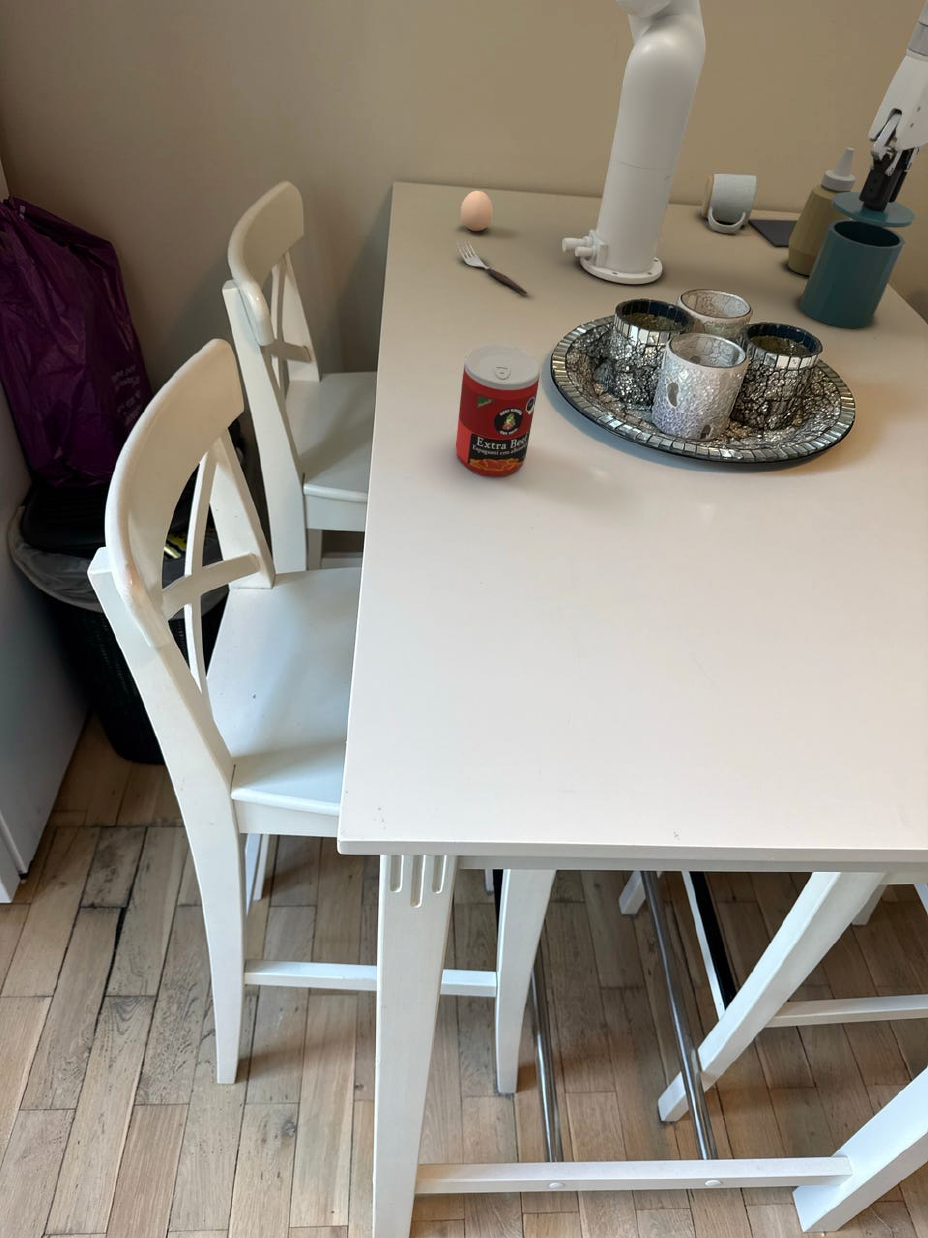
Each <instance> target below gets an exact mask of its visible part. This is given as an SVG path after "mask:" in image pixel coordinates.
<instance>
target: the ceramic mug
mask: <svg viewBox="0 0 928 1238" xmlns="http://www.w3.org/2000/svg"><path fill="white" fill-rule="evenodd" d="M757 186H758V177H757V176H756V175H751V174H735V173H734V174H732V173H714V174H711V175H709V176H708V178H707V179H706V183H705V188H704V192H703V196H702V202H701V208H700V209H701V211H700V214H701V216H702V217H703V218H705V219H707V220H708V224H709V226H710V227H711V228H712V229H713V230H714V231H716V232H718V233H721V234H732V233H735V232H737V231H738V230H740V228H741V227H742V226H747V224H748V223H749V222H748V220H750V217H751V214H752V212H753V207H754V204H755V200H756V193H757V188H758V187H757ZM717 221H718V222H717ZM719 222H723V223H729V224H731V225H727V224H721V223H719Z"/></svg>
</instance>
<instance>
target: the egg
mask: <svg viewBox="0 0 928 1238" xmlns="http://www.w3.org/2000/svg"><path fill="white" fill-rule="evenodd" d="M493 209H494V208H493V204H492V201H491V199H490V197H489V196H488V195H487V194H486V193H485V192H484V191H481V190H474V191H471V192H469V194H467V196H466V197H465V198H464V199H463V201H462V204H461V207H460V219H461V221H462V223H463V226H465V227H466V228H467V229H468V230H469V231H473V232H480V231H483V230H484V229H486V228H487V227H488V226H489V225H490V223H491V221H492V219H493V216H494V215H493V214H494V210H493Z"/></svg>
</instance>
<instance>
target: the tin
mask: <svg viewBox="0 0 928 1238" xmlns="http://www.w3.org/2000/svg"><path fill="white" fill-rule="evenodd" d="M905 245H906V241H905V239H904V237H903V236H902V235H901V234H899V233H898V232H896V231H895V230H893V229H892V228H890V227H878V226H873V225H868V224H865V223H861V222H859V221H856V220H854V219H851V218H849V219H841V220H836V221H833V222H831V223H830V224H829V225H828V228H827V231H826V233H825V236H824V239H823V242H822V244H821V247H820V250H819V252H818V255H817V258H816V260H815V263H814V266H813V268H812V271H811V274H810V276H809V275H808V276H809V277H808V279H807V282H806V285H805V288H804V290H803V292H802V295H801V298H800V303H799V307H800V308H801V310H802V311H803V313H805V314H806V316H809V317H810V318H812V319H813V320H815V321H818V322H821V323H823V324H826V325H829V326H834V327H838V328H844V329H860V328H864V327H866V326H868V325H869V324H870V323H871V321H872V319H873V318H874V315H875V313H876V311H877V309H878V307H879V304H880V302H881V299H882V297H883V295H884V293H885V291H886V288H887V286H888V284H889V282H890V278H891V277H892V274H893V273H894V270H895V267H896V265H897V263H898V261H899V258H900V256H901V254H902V252H903V250H904V247H905Z"/></svg>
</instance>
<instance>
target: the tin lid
mask: <svg viewBox="0 0 928 1238" xmlns="http://www.w3.org/2000/svg"><path fill="white" fill-rule="evenodd" d="M901 172H902V168H901V167H899V166H897V165H896V166H895V168H894V171H893V173H892V174H891V175H893V176H894V177H893V180H892V182H891V184H890V187H889V189H888V191H887V194H886V196H885V198H884V201H883V203H882V205H881V206H880V207H875V206H872V205H870V204H867V203H865V202H862V201H860V200H859V196H860V194H861V192H858V191H857V192H856V191H851V192H843V193H838V194H836V195H834V197H833V199H832V201H831V203H832V206H833V207H834V208H835V209H836V210H837V211H839V212H840V213H842V214H844V215H846V216H848V217H850V218H849V219H851V220H856V221H859V222H861V223H865V224H868V225H873V226H878V227H886V228H895V229H896V228H906V227H907V228H908V227H910V226H912V225H913V223H914V222H915V220H916V214H915V213H914V211H913V210H911V209H909V208H908V207H907V206H905V205H903V204H902V203H899V202H897V201H895V202H892V203H890V202H889V199H890V197H891V195H892V192H893V190H894V188H895V185H896V183H897V181H898V178H899V176H900V174H901Z"/></svg>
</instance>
